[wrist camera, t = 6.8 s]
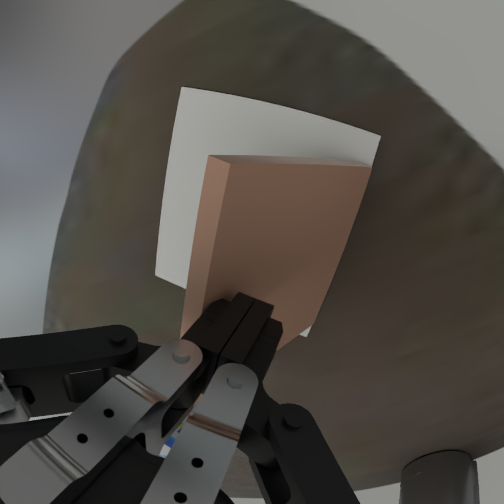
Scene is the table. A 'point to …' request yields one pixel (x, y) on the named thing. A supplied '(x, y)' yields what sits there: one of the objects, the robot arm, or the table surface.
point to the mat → (237, 143)
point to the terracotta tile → (272, 234)
